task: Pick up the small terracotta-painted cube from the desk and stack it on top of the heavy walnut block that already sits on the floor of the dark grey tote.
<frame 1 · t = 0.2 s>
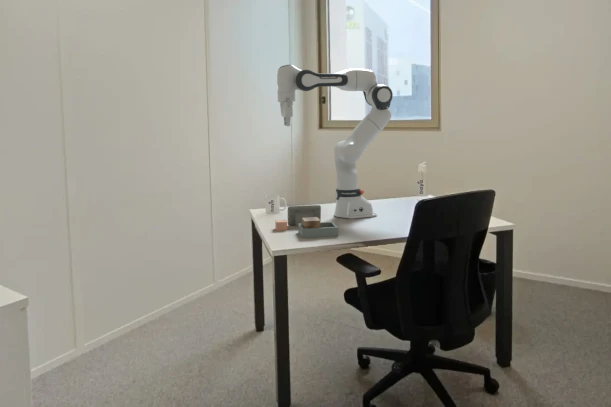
hand: (287, 125, 287), 48 cm above the table, tool pointing down, fingers open, 8 cm apart
tote: (317, 236, 254), on the table
light cube: (281, 231, 265), on the table
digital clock: (304, 227, 275), on the table
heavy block: (311, 234, 253), point 1 cm above the table, touching tote
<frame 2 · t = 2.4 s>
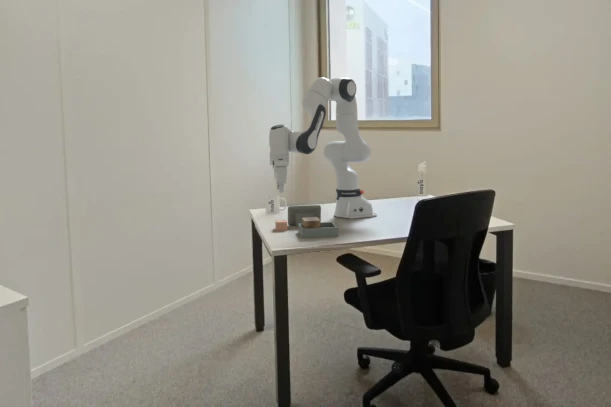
hand: (280, 190, 262), 19 cm above the table, tool pointing down, fingers open, 8 cm apart
nothing on the table moved.
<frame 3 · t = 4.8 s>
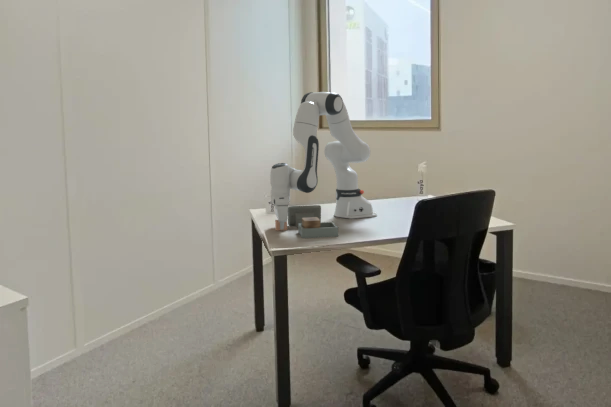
hand: (281, 227, 265), 2 cm above the table, tool pointing down, fingers closed on light cube, 5 cm apart
light cube: (281, 231, 265), on the table, touching gripper
everything else where it was.
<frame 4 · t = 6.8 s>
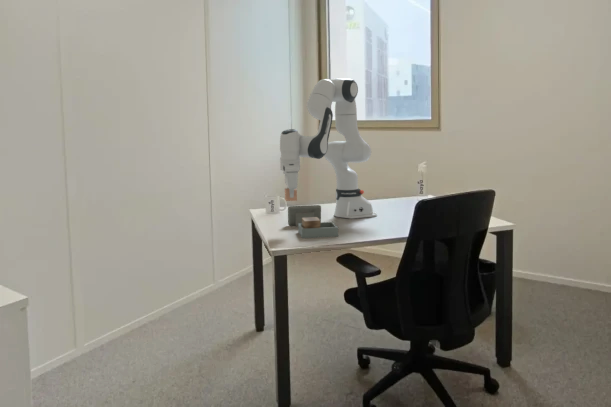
hand: (290, 196, 258), 17 cm above the table, tool pointing down, fingers closed on light cube, 5 cm apart
light cube: (290, 199, 258), point 16 cm above the table, touching gripper
everything else where it was.
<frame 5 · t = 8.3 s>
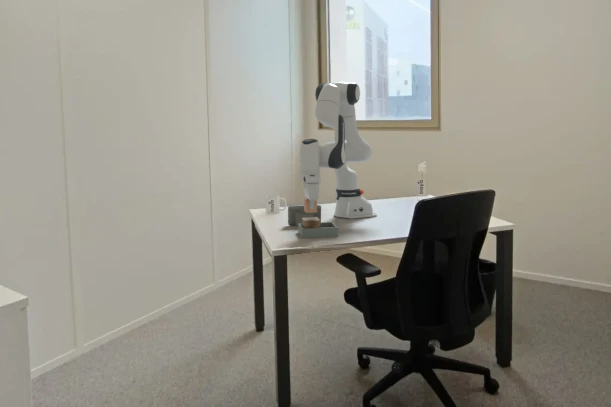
hand: (310, 207, 251), 13 cm above the table, tool pointing down, fingers closed on light cube, 5 cm apart
light cube: (310, 211, 251), point 11 cm above the table, touching gripper
everything else where it was.
when the fingers open (11 cm above the table, at t = 9.1 s): light cube stays where it is, resting on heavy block.
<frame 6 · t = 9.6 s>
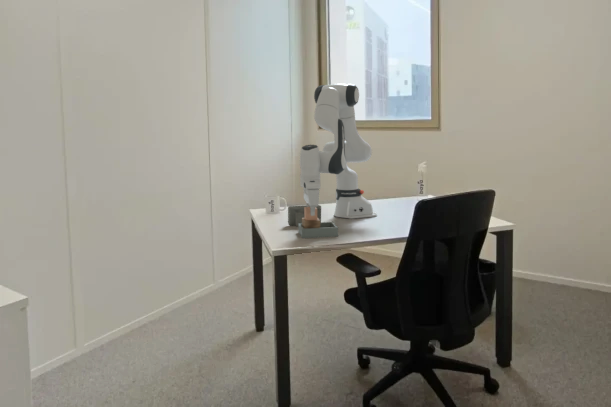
hand: (310, 213, 251), 11 cm above the table, tool pointing down, fingers open, 8 cm apart
light cube: (310, 219, 252), point 8 cm above the table, touching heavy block
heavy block: (311, 234, 253), point 1 cm above the table, touching light cube, tote
everything else where it was.
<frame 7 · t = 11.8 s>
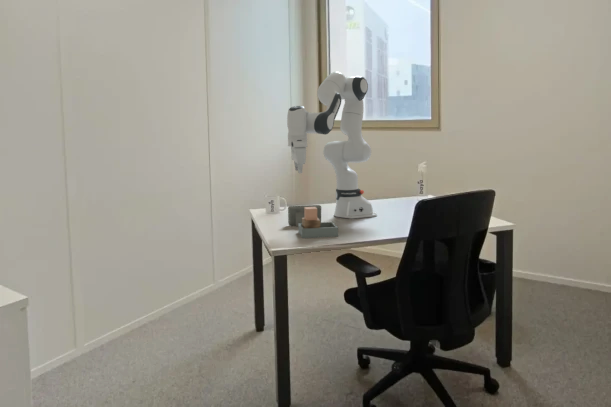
hand: (298, 171, 264), 27 cm above the table, tool pointing down, fingers open, 8 cm apart
nothing on the table moved.
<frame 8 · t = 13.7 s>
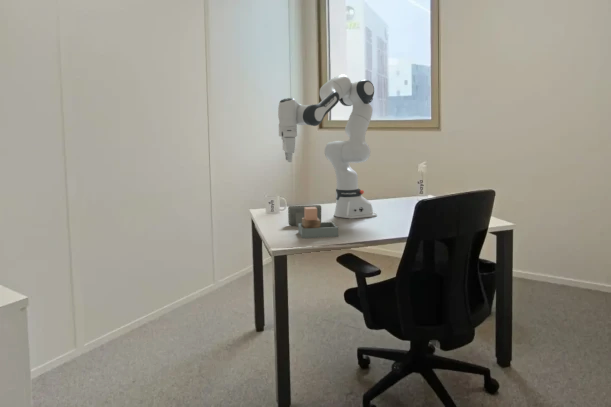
hand: (288, 161, 276), 31 cm above the table, tool pointing down, fingers open, 8 cm apart
nothing on the table moved.
at the end: light cube 0.1 cm off-centre on the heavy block, point 7.0 cm above the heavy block's base; light cube tilted 0°; the gripper is holding nothing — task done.
